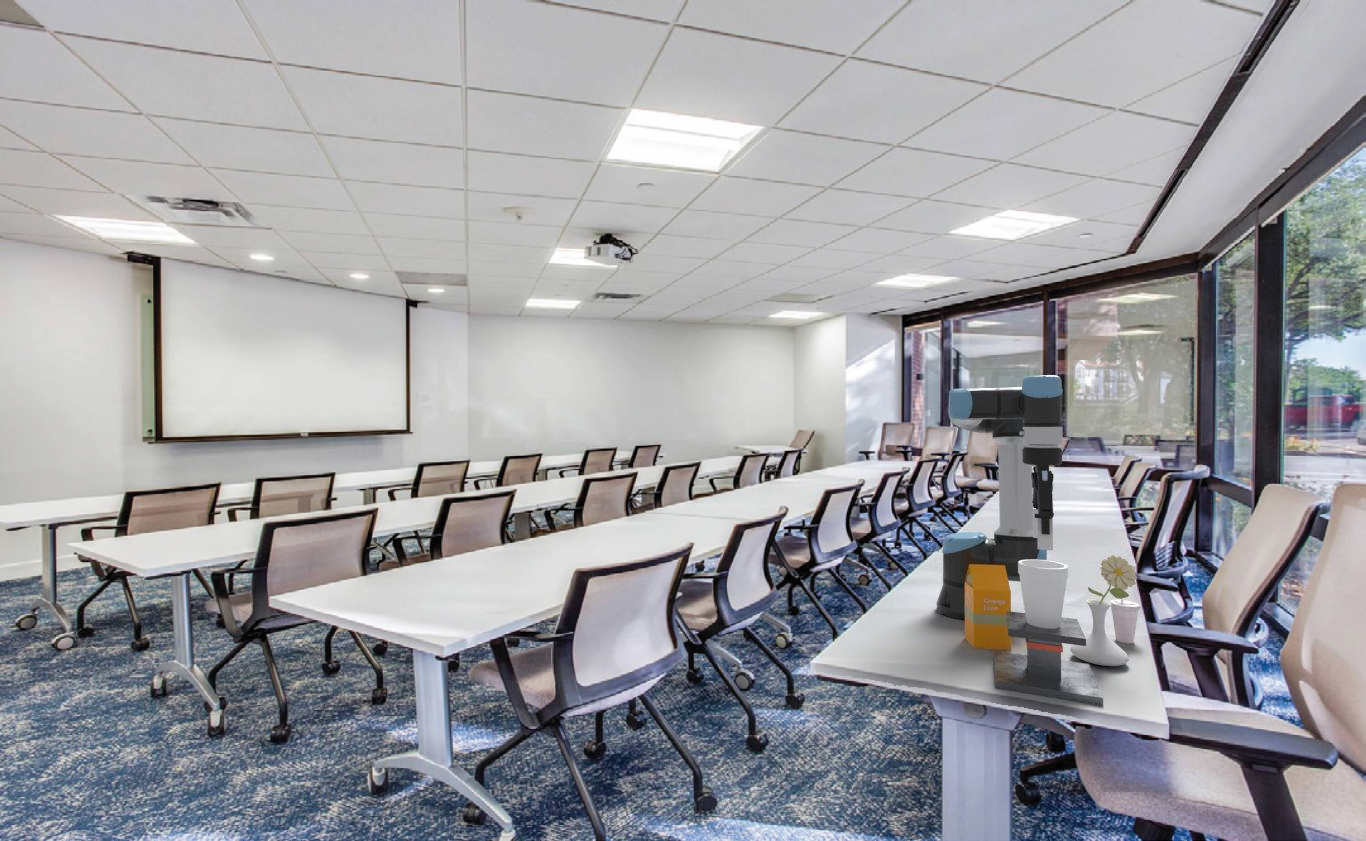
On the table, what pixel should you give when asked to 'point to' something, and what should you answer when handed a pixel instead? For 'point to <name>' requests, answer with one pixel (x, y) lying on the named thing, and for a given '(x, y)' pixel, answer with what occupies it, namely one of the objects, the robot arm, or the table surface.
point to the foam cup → (1043, 591)
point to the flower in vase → (1097, 642)
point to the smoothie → (1124, 619)
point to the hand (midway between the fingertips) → (1042, 543)
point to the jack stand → (1046, 662)
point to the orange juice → (987, 606)
